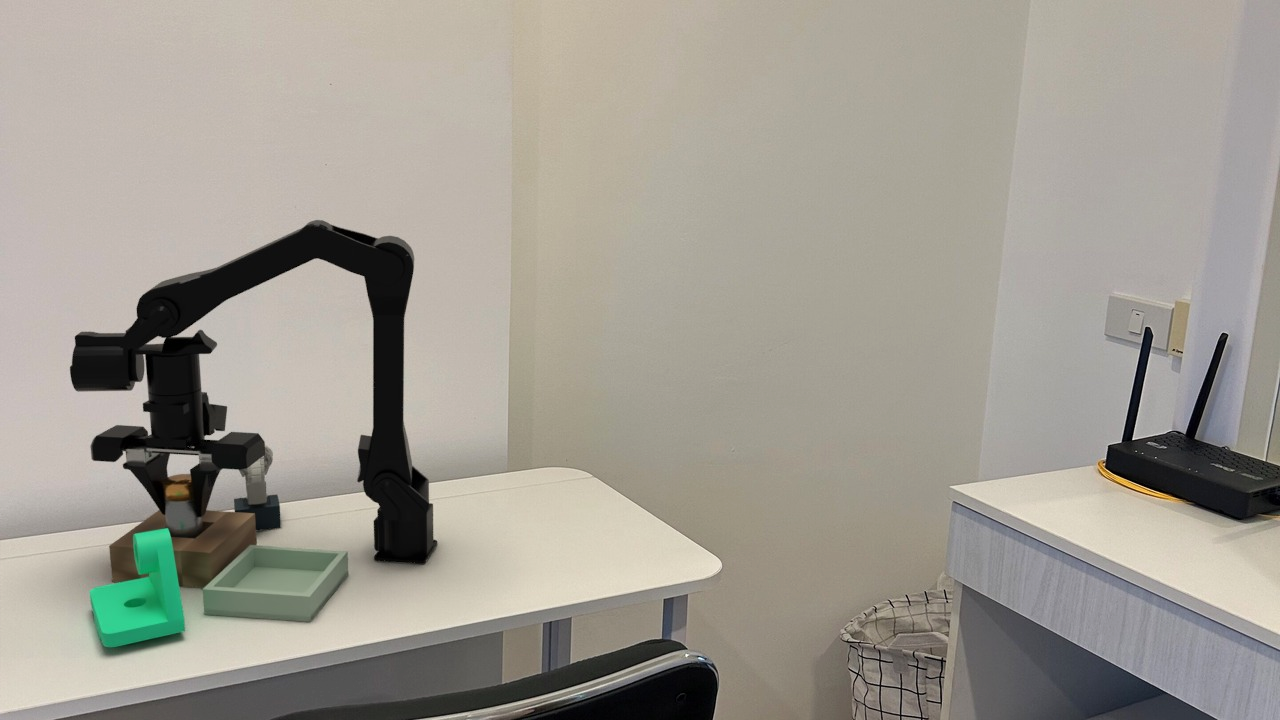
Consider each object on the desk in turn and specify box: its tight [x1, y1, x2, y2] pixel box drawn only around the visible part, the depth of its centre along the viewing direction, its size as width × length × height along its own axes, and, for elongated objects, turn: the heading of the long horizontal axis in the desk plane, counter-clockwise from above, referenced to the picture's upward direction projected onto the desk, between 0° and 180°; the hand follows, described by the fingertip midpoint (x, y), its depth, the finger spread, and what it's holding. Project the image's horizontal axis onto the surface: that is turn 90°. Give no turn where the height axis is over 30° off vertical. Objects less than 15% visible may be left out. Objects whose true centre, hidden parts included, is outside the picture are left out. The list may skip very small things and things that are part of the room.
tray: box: [202, 544, 349, 623], centre depth 121 cm, size 12×12×3 cm
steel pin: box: [163, 473, 203, 539], centre depth 127 cm, size 4×4×10 cm
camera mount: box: [89, 528, 186, 648], centre depth 113 cm, size 12×8×10 cm, turn 33°
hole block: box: [108, 509, 258, 589], centre depth 128 cm, size 12×12×4 cm
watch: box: [233, 444, 282, 531], centre depth 139 cm, size 6×8×11 cm
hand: (183, 514), depth 127 cm, fingers closed on steel pin, 4 cm apart
